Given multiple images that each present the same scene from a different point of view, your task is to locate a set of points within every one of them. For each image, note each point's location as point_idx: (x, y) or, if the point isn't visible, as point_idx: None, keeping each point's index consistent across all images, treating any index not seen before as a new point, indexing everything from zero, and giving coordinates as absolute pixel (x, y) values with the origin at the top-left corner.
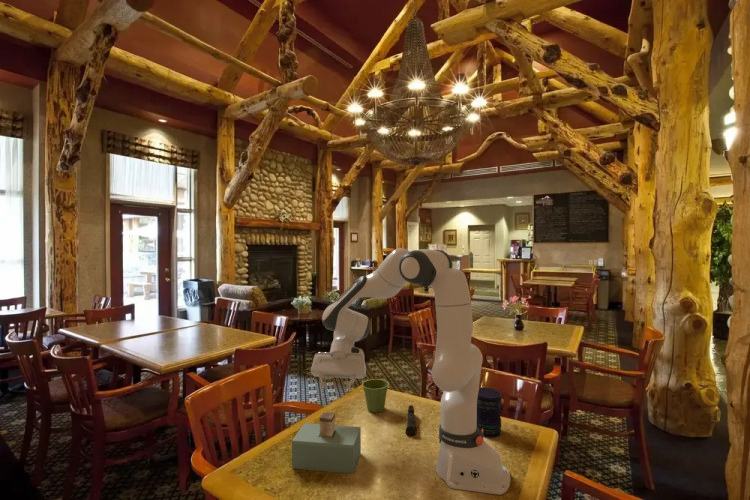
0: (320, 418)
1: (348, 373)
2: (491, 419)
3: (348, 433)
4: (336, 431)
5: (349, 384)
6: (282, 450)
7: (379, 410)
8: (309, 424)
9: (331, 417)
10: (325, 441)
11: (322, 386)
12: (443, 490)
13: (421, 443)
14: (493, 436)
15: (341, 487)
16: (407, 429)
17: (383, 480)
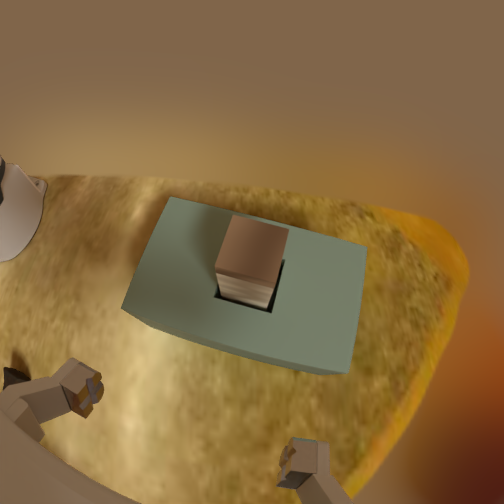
0: (285, 228)
1: (16, 431)
2: None
3: (171, 267)
4: (214, 289)
5: (62, 372)
6: (378, 366)
7: None
8: (327, 361)
9: (233, 226)
10: None
11: (305, 439)
12: (57, 181)
13: (16, 332)
14: None
15: (218, 198)
16: (20, 376)
17: (129, 210)
